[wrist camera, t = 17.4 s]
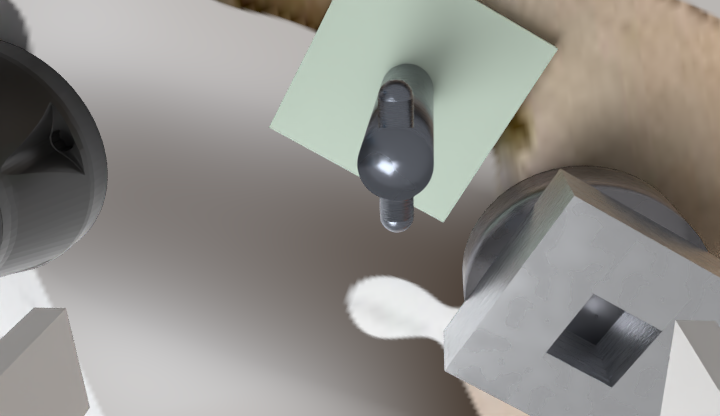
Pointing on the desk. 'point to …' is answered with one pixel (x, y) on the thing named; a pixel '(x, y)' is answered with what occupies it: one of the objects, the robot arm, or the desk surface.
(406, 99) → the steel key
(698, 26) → the desk surface
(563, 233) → the chuck block
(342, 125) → the sage mat
